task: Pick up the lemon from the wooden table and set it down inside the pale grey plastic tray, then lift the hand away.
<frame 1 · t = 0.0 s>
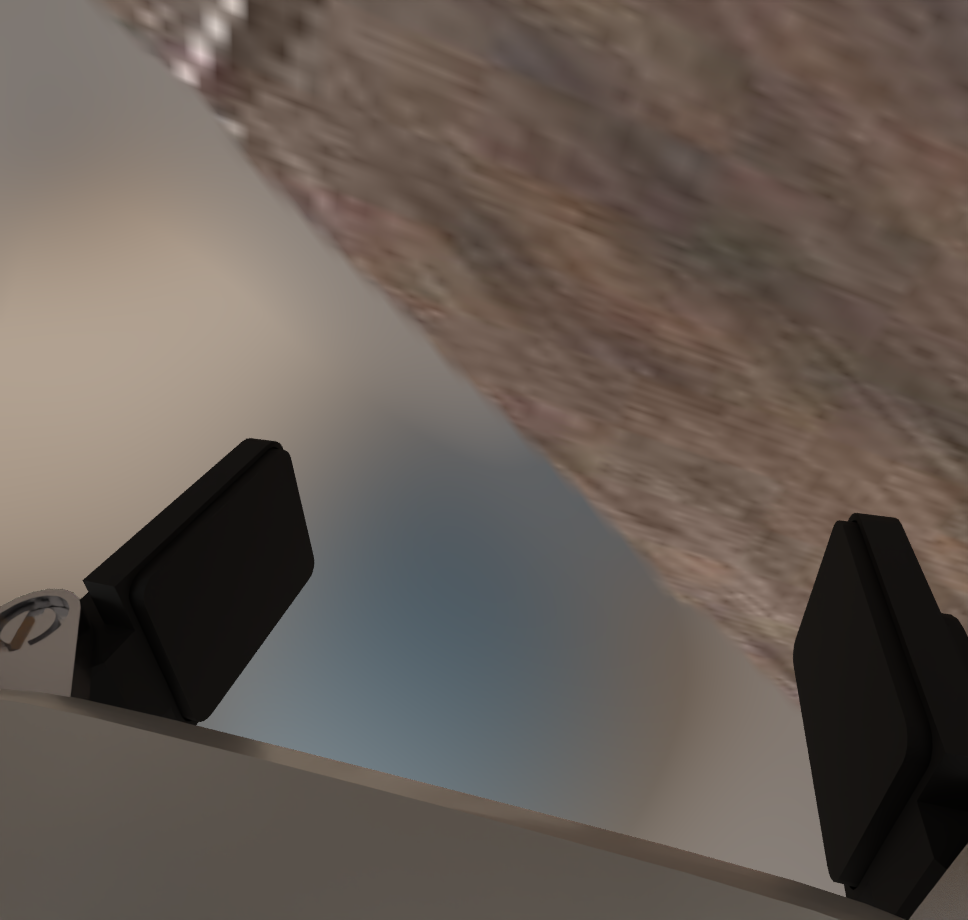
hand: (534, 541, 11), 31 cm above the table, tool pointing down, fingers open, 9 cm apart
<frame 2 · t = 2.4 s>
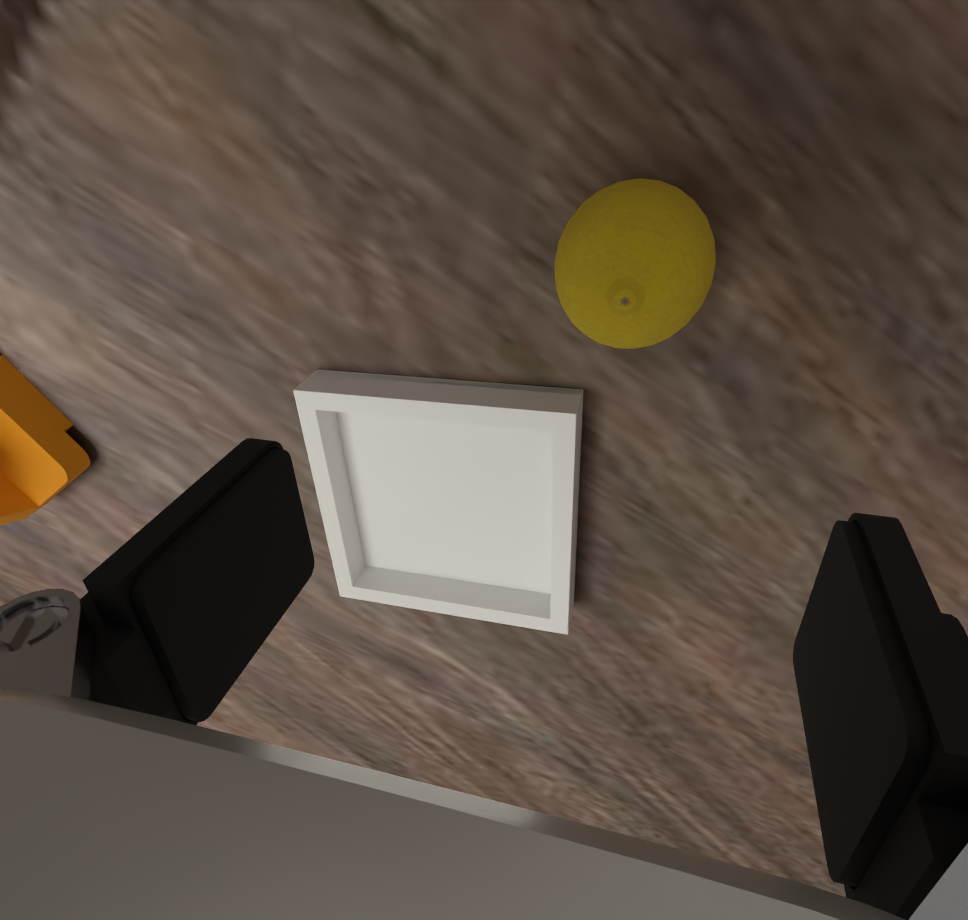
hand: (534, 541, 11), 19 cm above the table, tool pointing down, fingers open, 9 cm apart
bracket: (19, 413, 42), on the table
tray: (452, 492, 35), on the table
lemon: (640, 236, 26), on the table
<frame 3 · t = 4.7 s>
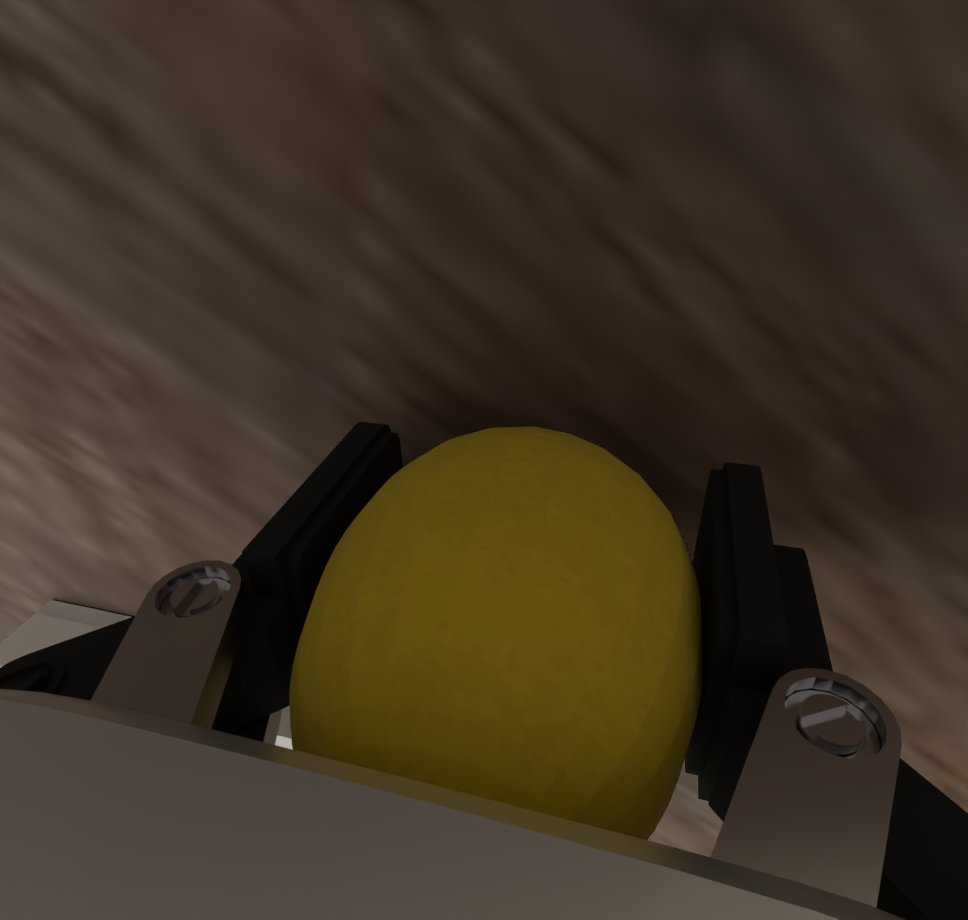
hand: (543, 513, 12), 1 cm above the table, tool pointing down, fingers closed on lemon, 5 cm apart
tray: (289, 777, 22), on the table
lemon: (556, 474, 13), on the table, touching gripper
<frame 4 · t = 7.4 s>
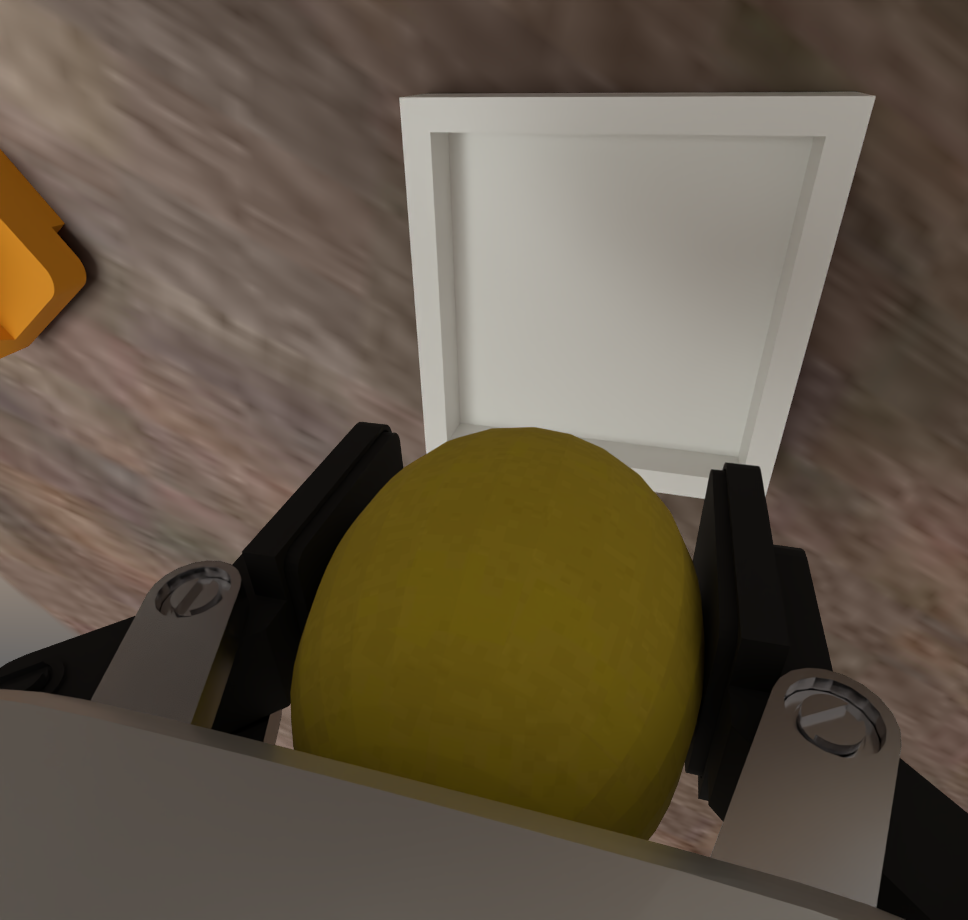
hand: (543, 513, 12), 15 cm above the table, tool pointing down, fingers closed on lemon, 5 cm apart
tray: (605, 299, 25), on the table
lemon: (556, 475, 13), point 14 cm above the table, touching gripper
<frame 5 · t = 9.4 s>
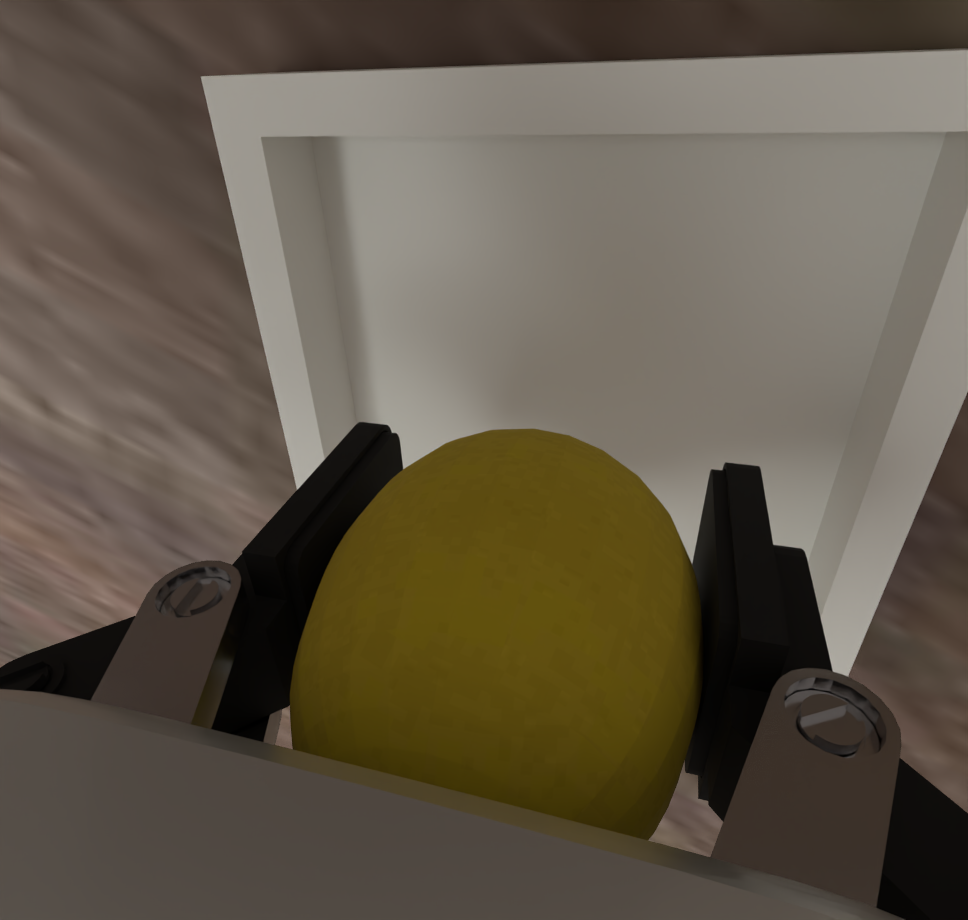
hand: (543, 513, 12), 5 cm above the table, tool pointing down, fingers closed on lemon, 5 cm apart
tray: (580, 392, 16), on the table
lemon: (556, 476, 13), point 4 cm above the table, touching gripper
when the fingers open (4 cm above the table, at t = 10.1 s): lemon drops 2 cm, resting on tray.
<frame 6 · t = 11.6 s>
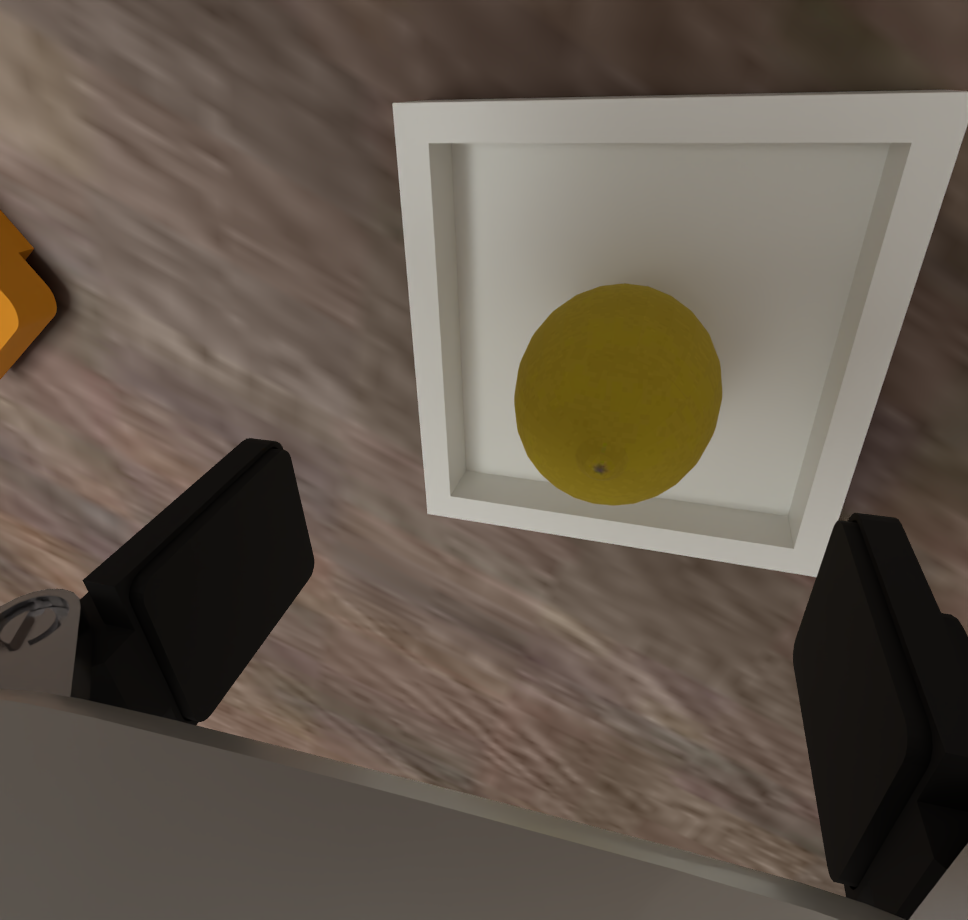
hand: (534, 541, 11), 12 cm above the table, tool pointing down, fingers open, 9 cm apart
tray: (633, 334, 21), on the table
lemon: (628, 335, 21), resting on tray
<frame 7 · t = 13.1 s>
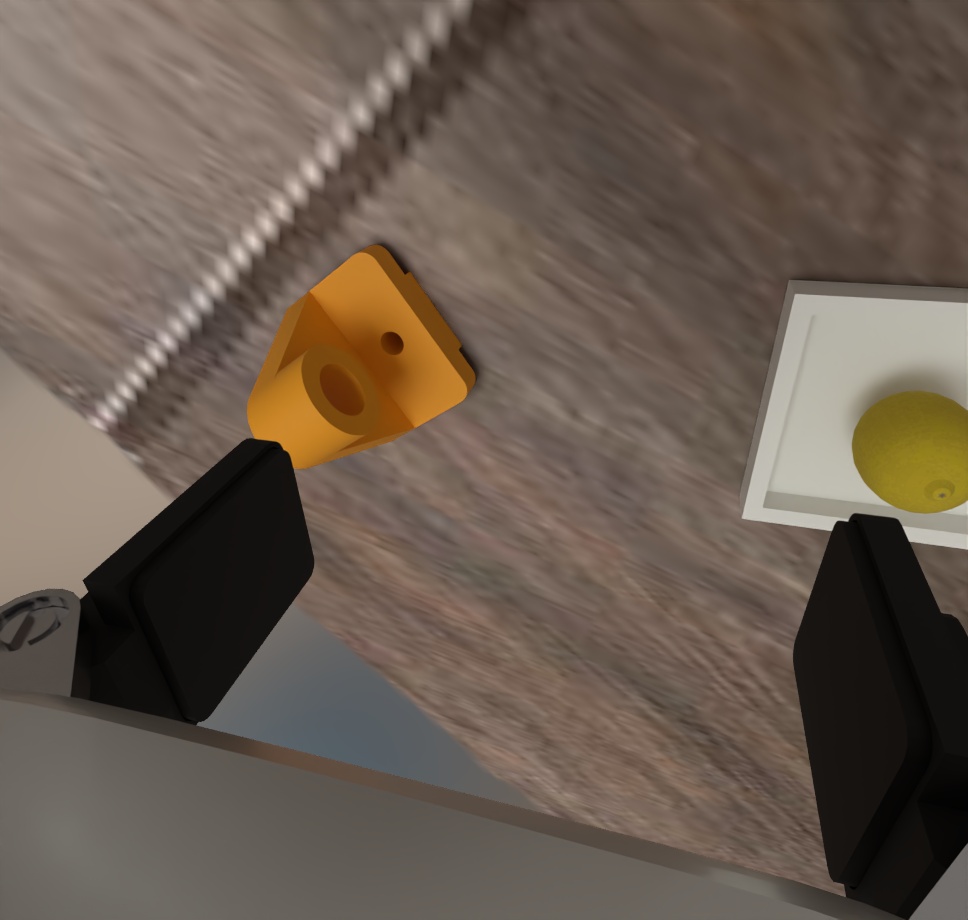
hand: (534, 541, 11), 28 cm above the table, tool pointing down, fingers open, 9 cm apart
bracket: (397, 335, 42), on the table
tray: (894, 410, 35), on the table
lemon: (894, 411, 35), resting on tray
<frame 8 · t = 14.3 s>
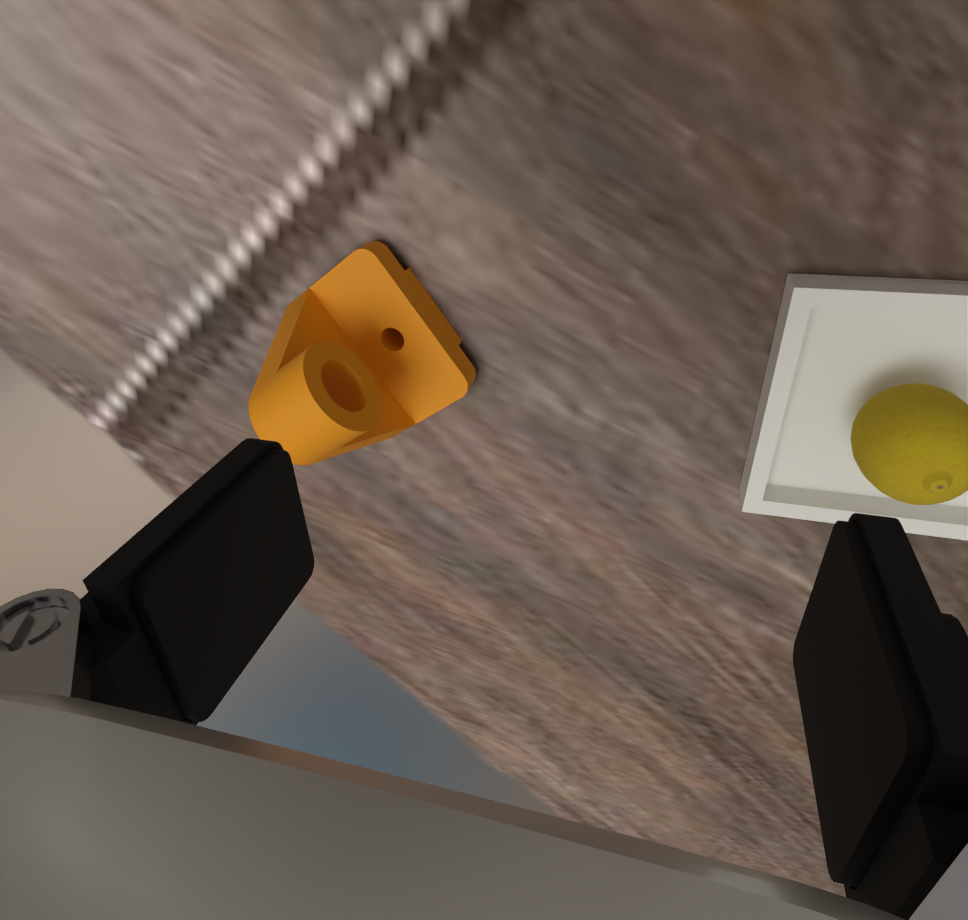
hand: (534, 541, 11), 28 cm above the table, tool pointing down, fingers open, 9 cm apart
bracket: (397, 331, 42), on the table
tray: (893, 403, 36), on the table
lemon: (893, 404, 35), resting on tray
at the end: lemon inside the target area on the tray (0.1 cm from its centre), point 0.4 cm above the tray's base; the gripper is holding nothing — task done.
